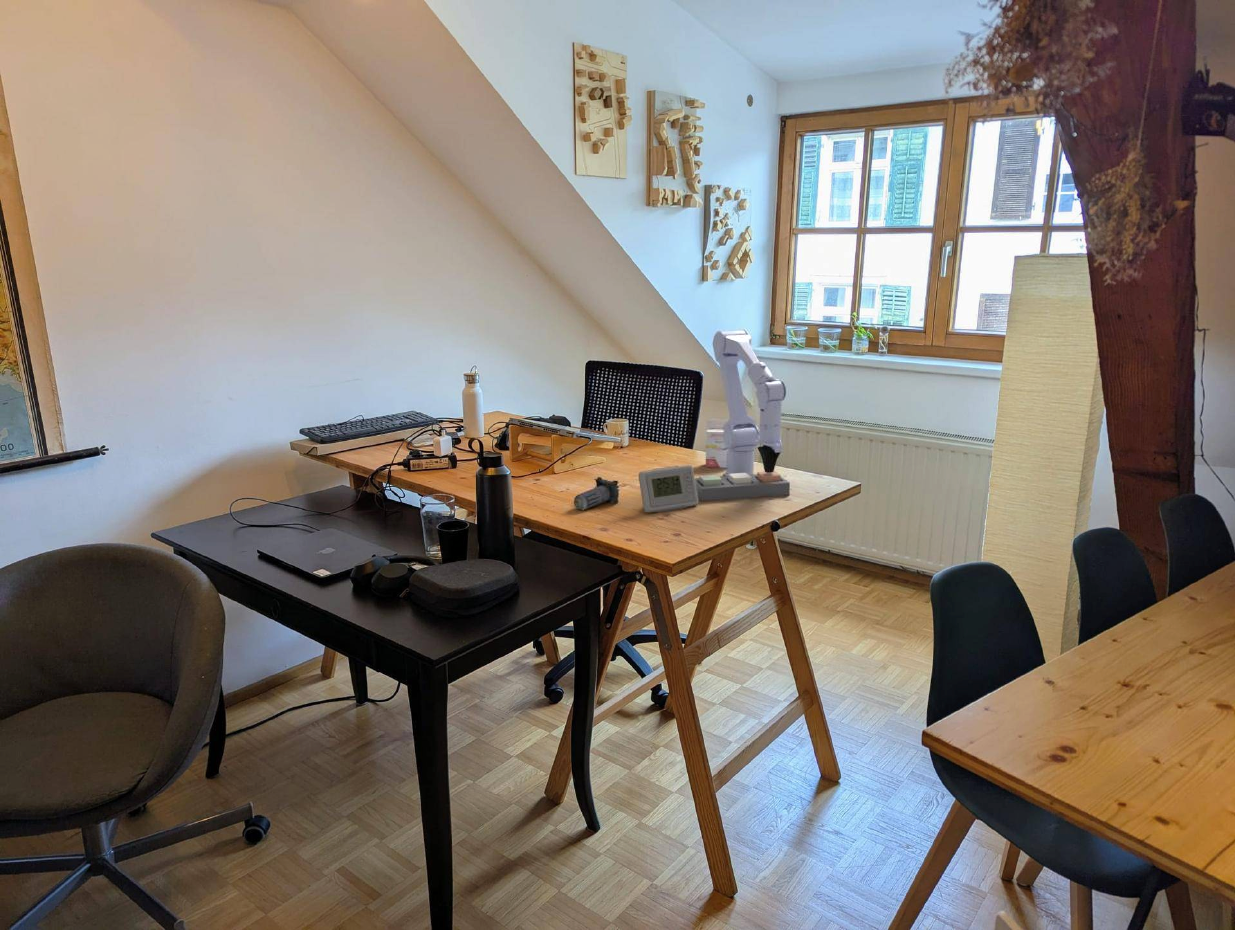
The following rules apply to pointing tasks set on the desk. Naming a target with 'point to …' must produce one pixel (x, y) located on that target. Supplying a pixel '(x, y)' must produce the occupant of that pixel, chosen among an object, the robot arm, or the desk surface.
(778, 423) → the robot arm
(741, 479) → the cream key
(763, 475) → the terracotta key
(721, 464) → the ink cartridge box
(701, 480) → the sage key
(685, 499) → the digital clock
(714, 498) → the panel
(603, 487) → the ribbed flanged cylinder
